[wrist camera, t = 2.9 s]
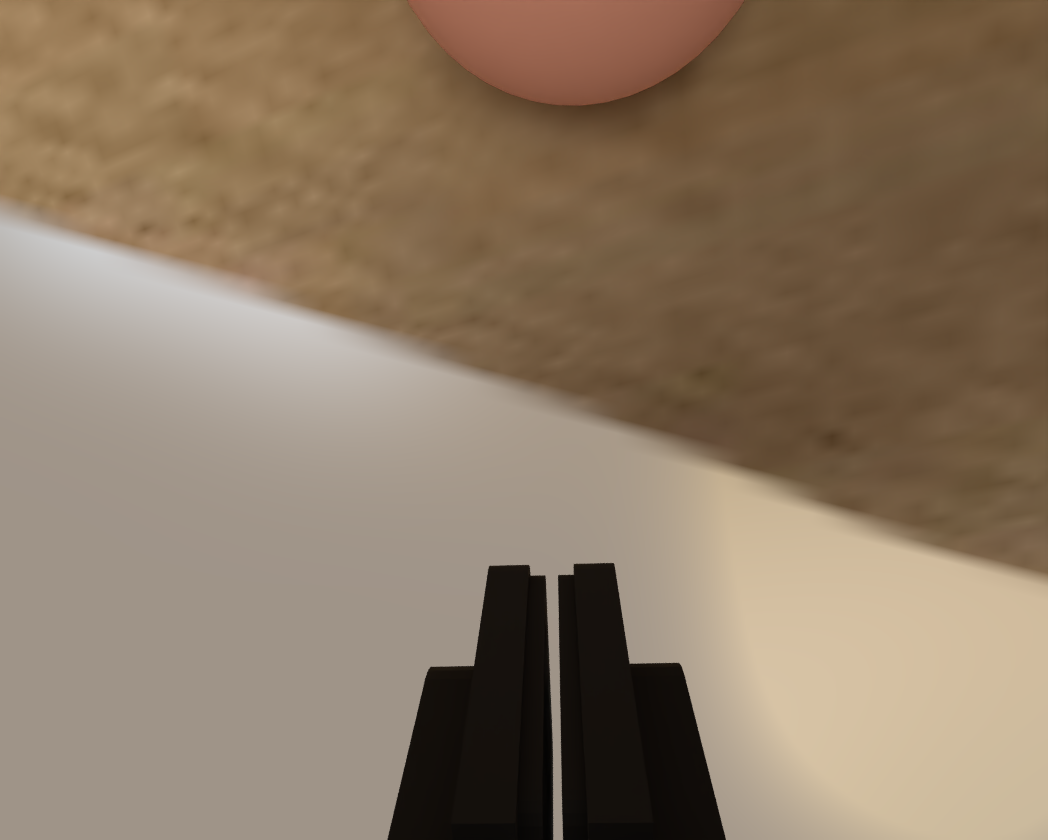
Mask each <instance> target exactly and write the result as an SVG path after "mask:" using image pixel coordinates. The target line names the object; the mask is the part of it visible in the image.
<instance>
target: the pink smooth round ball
mask: <svg viewBox="0 0 1048 840" xmlns="http://www.w3.org/2000/svg"><path fill="white" fill-rule="evenodd" d="M407 1H408V3H409V5H410V6H411V8H412V9H413V11H414V12H415V14H416V15H417V17H418V18H419V19H420V21H421V22H422V24H423V25H424V27H425V28H426V29H427V31H428V32H429V34H430V35H431V36H432V37H433V38H434V39H435V40H436V41H437V42H438V44H439V45H440V46H441V47H442V48H443V49H444V50H445V51H446V52H447V53H448V54H449V55H450V56H451V57H452V58H453V59H455V60H456V61H457V62H458V63H459V64H460V65H462V66H463V67H464V68H465V69H466V70H468V71H469V72H471V73H472V74H474V75H475V76H477V77H478V78H480V79H481V80H483V81H484V82H486V83H487V84H490V85H492V86H494V87H496V88H498V89H500V90H502V91H504V92H506V93H509V94H511V95H514V96H518V97H521V98H524V99H527V100H530V101H534V102H540V103H547V104H553V105H576V106H582V105H590V104H598V103H606V102H609V101H613V100H617V99H621V98H624V97H628V96H631V95H633V94H636V93H638V92H640V91H643V90H645V89H647V88H650V87H652V86H654V85H656V84H658V83H659V82H661V81H663V80H664V79H666V78H668V77H669V76H671V75H673V74H675V73H676V72H677V71H679V70H680V69H681V68H683V67H684V66H685V65H686V64H688V63H689V62H690V61H692V60H693V59H694V58H696V57H697V56H698V55H699V54H700V53H701V52H702V51H703V50H704V49H705V48H706V47H707V46H708V45H709V44H710V43H711V42H712V41H713V40H714V39H715V38H716V37H717V36H718V35H719V34H720V32H721V31H722V30H723V29H724V27H725V26H726V25H727V24H728V22H729V21H730V20H731V19H732V17H733V16H734V15H735V14H736V12H737V11H738V10H739V8H740V7H741V5H742V4H743V2H744V0H407Z"/></svg>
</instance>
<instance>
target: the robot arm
mask: <svg viewBox="0 0 1048 840" xmlns="http://www.w3.org/2000/svg"><path fill="white" fill-rule="evenodd" d="M558 591H559V592H558V594H559V648H560V649H559V650H560V707H561V761H562V762H561V765H562V815H563V840H726V838H725V834H724V830H723V826H722V823H721V818H720V815H719V810H718V806H717V802H716V798H715V795H714V791H713V787H712V783H711V779H710V775H709V771H708V767H707V763H706V759H705V755H704V751H703V747H702V743H701V739H700V735H699V731H698V727H697V723H696V719H695V715H694V712H693V708H692V703H691V699H690V696H689V692H688V688H687V684H686V680H685V676H684V673H683V670H682V667H681V665H680V664H679V663H652V664H651V663H647V664H629V658H628V651H627V645H626V638H625V632H624V624H623V618H622V612H621V605H620V598H619V592H618V585H617V579H616V572H615V566H614V563H600V564H599V563H597V564H574V575H558ZM550 693H551V692H550V668H549V646H548V622H547V598H546V579H545V576H530V566H529V565H507V566H489V569H488V575H487V582H486V589H485V596H484V602H483V609H482V616H481V623H480V630H479V636H478V644H477V650H476V657H475V664H474V666H458V667H457V666H455V667H430V669H429V670H428V672H427V675H426V678H425V682H424V687H423V691H422V695H421V699H420V704H419V708H418V712H417V717H416V721H415V725H414V729H413V733H412V738H411V742H410V746H409V750H408V755H407V759H406V763H405V767H404V772H403V776H402V780H401V785H400V789H399V793H398V797H397V801H396V806H395V810H394V814H393V819H392V823H391V827H390V831H389V835H388V840H553V741H552V715H551V695H550Z"/></svg>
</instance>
